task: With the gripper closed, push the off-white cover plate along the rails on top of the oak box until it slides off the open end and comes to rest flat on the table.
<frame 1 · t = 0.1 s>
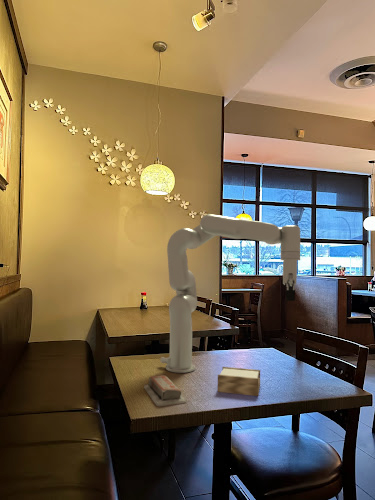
hand: (290, 299, 141), 31 cm above the table, tool pointing down, fingers open, 9 cm apart
packaged product: (163, 396, 120), on the table
box: (239, 388, 128), on the table
cover plate: (239, 378, 128), point 3 cm above the table, touching box
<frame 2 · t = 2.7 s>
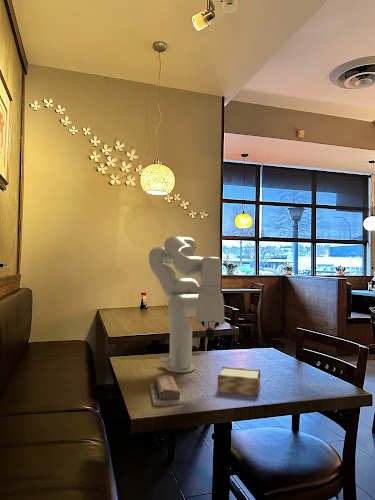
hand: (210, 339, 131), 17 cm above the table, tool pointing down, fingers closed
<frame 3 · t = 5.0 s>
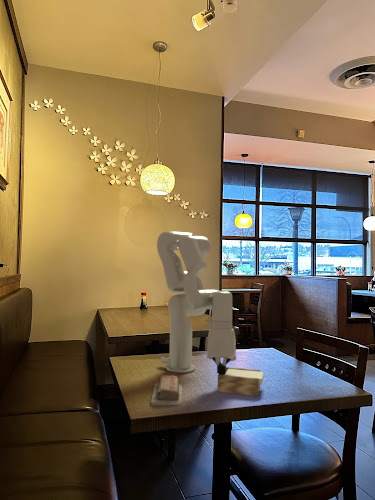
hand: (221, 375, 129), 4 cm above the table, tool pointing down, fingers closed
cover plate: (244, 379, 127), point 4 cm above the table, touching box
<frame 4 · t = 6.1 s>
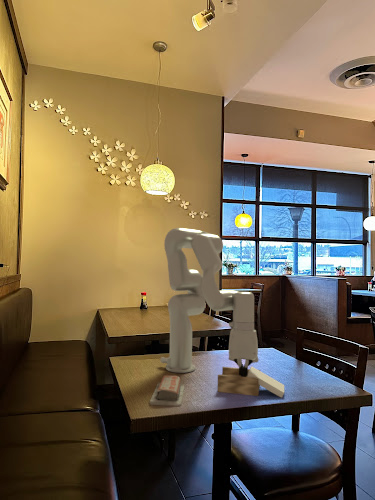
hand: (243, 377, 127), 4 cm above the table, tool pointing down, fingers closed
cover plate: (264, 383, 125), point 3 cm above the table, tilted 26°, touching box, gripper
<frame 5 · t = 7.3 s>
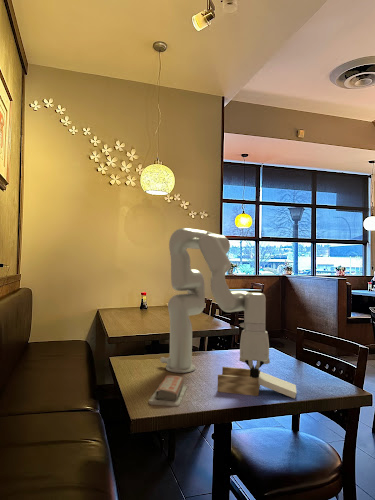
hand: (254, 379, 126), 4 cm above the table, tool pointing down, fingers closed
cover plate: (275, 387, 124), point 2 cm above the table, tilted 17°, touching gripper
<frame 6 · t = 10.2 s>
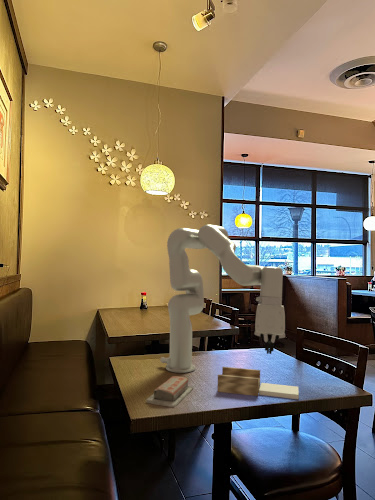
hand: (269, 352, 126), 13 cm above the table, tool pointing down, fingers closed
cover plate: (279, 394, 124), on the table
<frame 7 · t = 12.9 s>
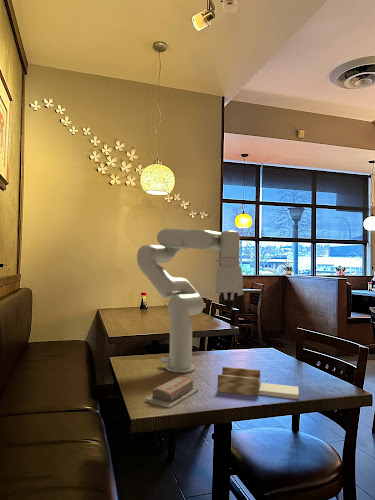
hand: (229, 310, 137), 27 cm above the table, tool pointing down, fingers closed
at the end: cover plate inside the target area (4.2 cm from its centre), on the table; cover plate moved 14.4 cm from its start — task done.
